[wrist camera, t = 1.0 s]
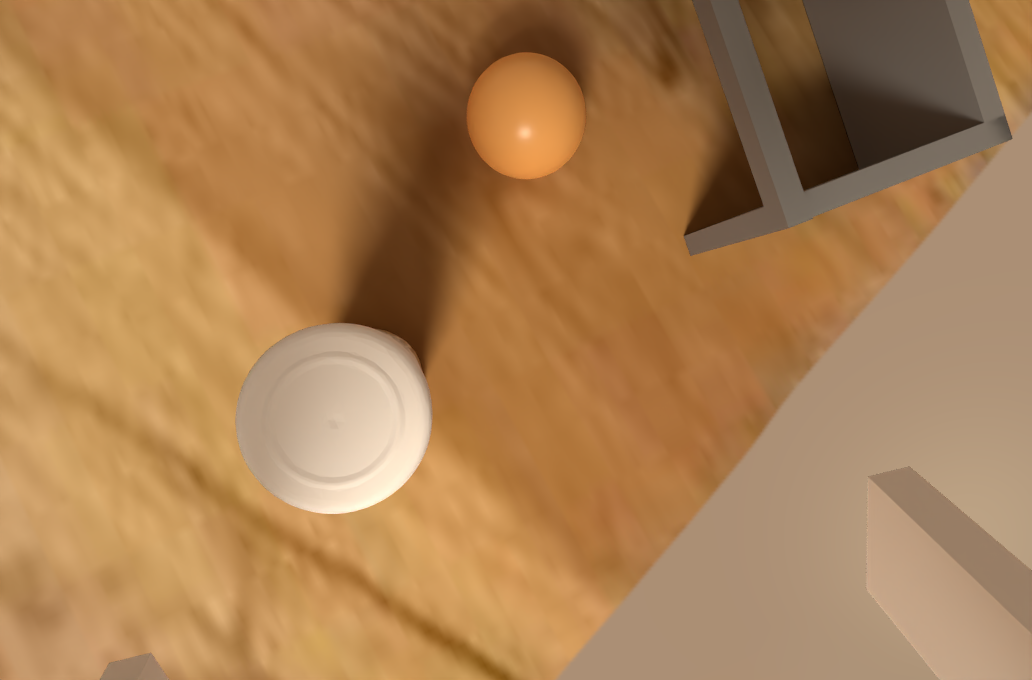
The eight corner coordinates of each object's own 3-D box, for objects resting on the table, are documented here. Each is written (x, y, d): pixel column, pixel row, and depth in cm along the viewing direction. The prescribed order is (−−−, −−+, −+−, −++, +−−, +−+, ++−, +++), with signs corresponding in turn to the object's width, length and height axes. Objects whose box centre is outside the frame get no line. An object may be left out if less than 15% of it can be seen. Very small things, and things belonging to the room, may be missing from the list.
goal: (574, -69, 29) (634, -220, 21) (778, -129, 30) (905, -291, 23) (690, 255, 30) (789, 228, 22) (882, 181, 32) (1037, 130, 24)
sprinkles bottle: (299, 395, 27) (188, 454, 14) (357, 307, 28) (302, 284, 14) (389, 449, 28) (365, 554, 15) (445, 362, 28) (470, 389, 15)
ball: (445, 100, 28) (452, 51, 23) (547, 67, 29) (574, 12, 24) (485, 205, 28) (500, 179, 23) (584, 170, 29) (619, 137, 24)
